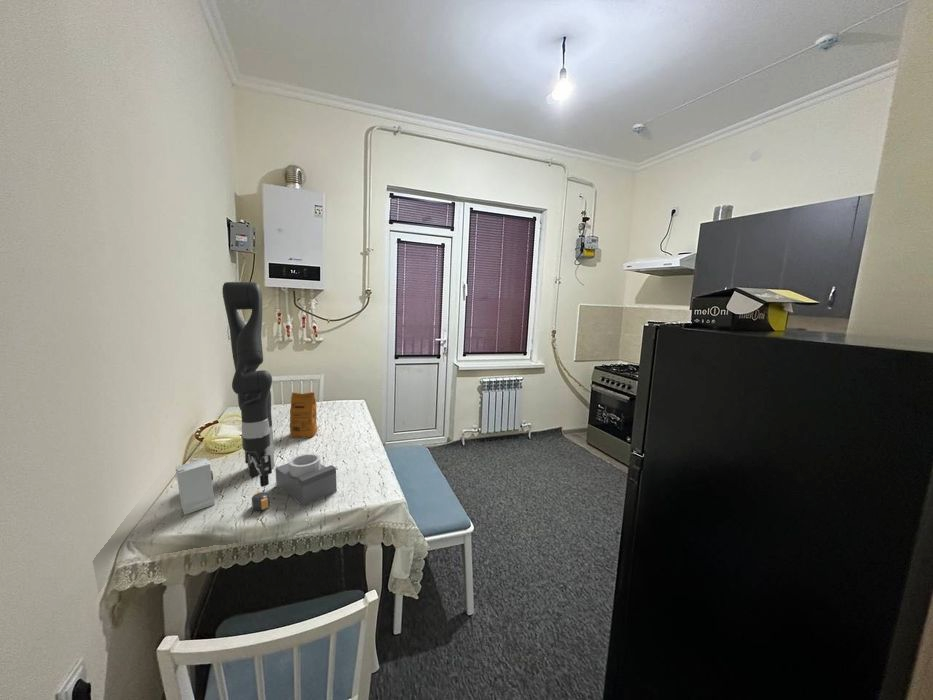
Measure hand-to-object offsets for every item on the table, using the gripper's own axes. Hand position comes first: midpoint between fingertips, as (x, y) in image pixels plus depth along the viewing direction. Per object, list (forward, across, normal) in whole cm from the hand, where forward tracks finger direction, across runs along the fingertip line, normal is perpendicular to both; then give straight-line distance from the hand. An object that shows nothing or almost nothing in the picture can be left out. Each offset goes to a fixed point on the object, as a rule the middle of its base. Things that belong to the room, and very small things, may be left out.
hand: (259, 481), depth 111 cm
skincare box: (+10, -16, -13) cm, 23 cm away
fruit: (+9, -28, -9) cm, 31 cm away
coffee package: (+8, -50, +39) cm, 64 cm away
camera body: (+9, 0, +15) cm, 18 cm away
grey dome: (+10, 0, 0) cm, 10 cm away
